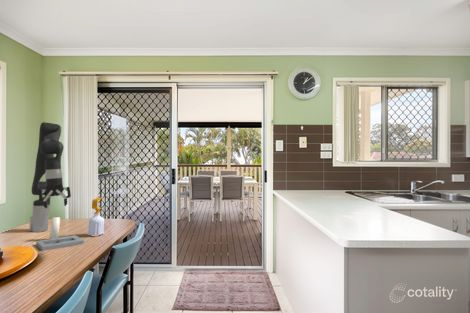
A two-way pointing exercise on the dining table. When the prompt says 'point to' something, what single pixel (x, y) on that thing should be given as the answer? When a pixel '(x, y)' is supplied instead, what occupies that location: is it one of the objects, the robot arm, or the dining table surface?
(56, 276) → the dining table surface
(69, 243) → the rectangular recess board
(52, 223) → the cream rounded cylinder
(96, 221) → the soap bottle
